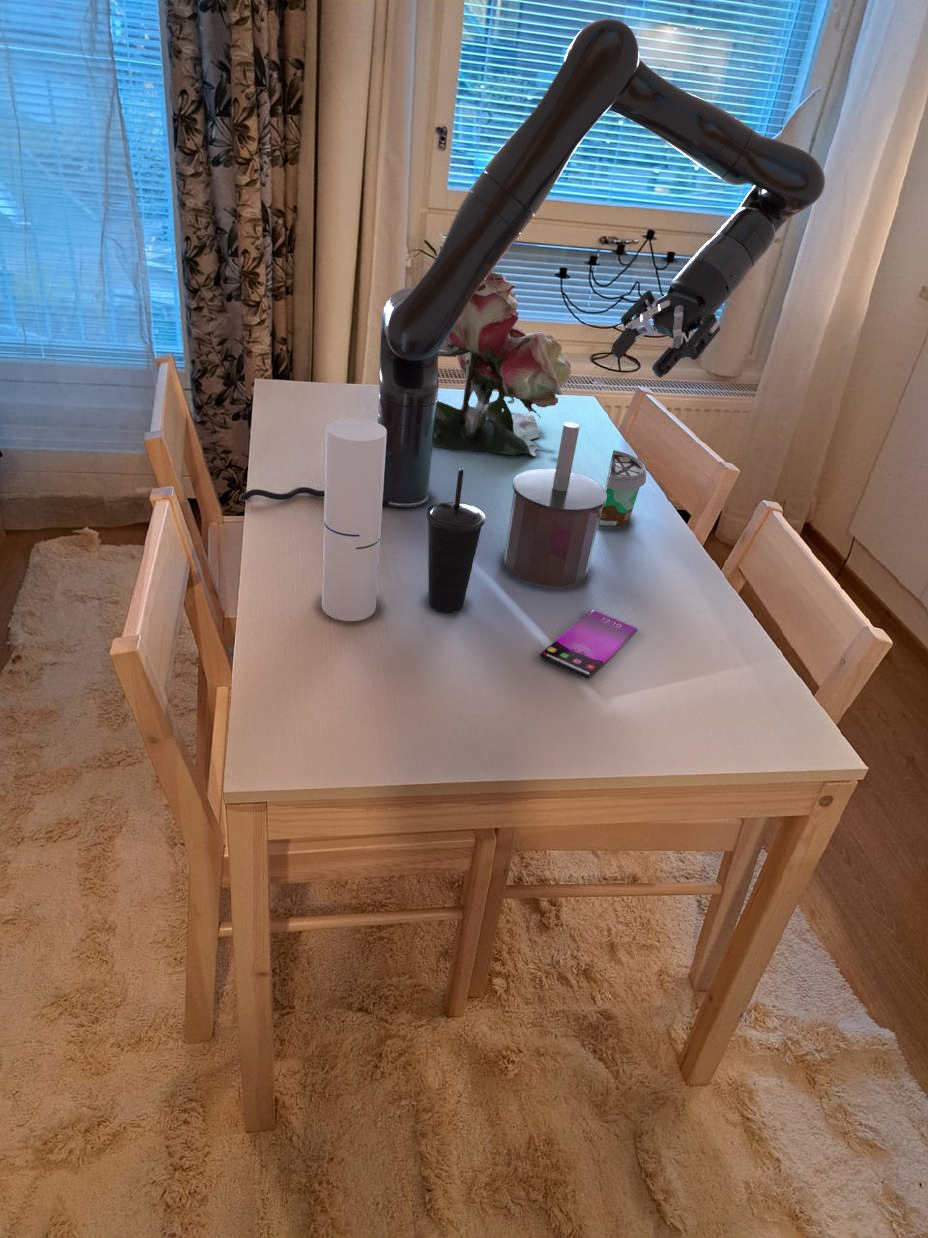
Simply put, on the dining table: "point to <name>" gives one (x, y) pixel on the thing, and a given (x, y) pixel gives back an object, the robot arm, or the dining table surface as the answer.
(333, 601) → the cylindrical container
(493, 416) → the rose bouquet
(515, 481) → the lid
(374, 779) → the dining table surface
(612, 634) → the smartphone
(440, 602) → the drinking cup
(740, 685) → the dining table surface
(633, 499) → the food container
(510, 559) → the brown cylindrical pot
